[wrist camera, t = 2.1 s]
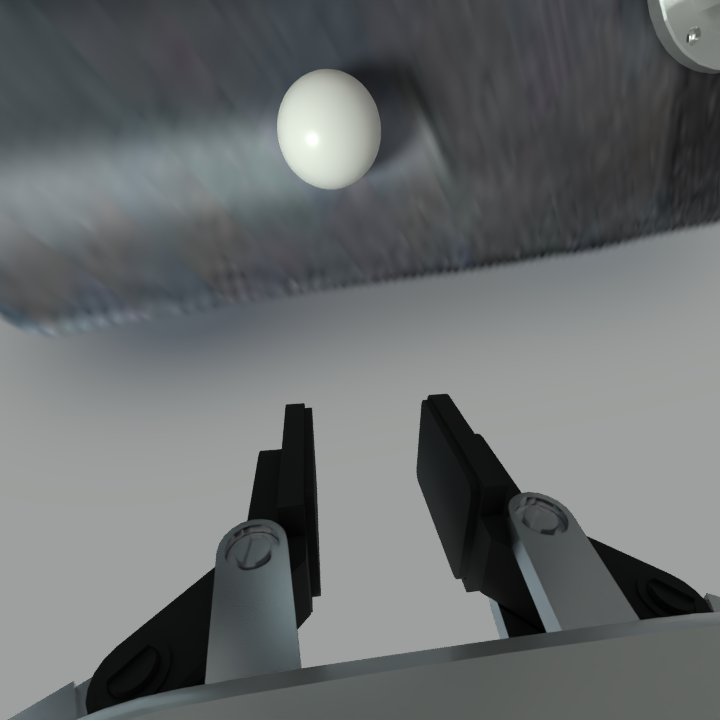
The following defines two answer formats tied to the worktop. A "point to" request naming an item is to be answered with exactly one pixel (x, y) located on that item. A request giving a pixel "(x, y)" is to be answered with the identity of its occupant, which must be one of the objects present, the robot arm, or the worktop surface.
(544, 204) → the worktop surface
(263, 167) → the worktop surface
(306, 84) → the cue ball
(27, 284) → the worktop surface
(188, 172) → the worktop surface
